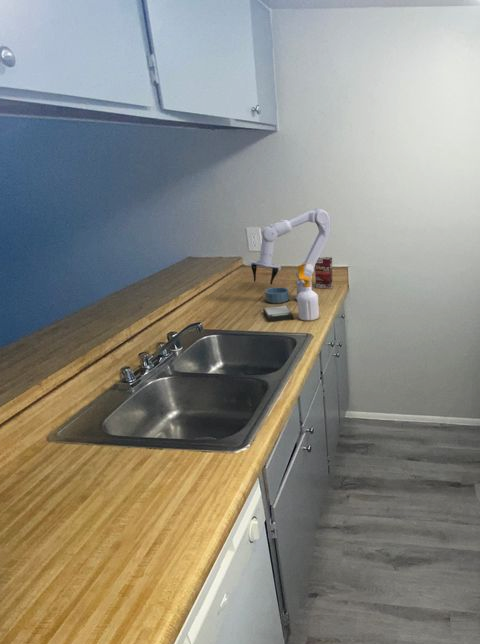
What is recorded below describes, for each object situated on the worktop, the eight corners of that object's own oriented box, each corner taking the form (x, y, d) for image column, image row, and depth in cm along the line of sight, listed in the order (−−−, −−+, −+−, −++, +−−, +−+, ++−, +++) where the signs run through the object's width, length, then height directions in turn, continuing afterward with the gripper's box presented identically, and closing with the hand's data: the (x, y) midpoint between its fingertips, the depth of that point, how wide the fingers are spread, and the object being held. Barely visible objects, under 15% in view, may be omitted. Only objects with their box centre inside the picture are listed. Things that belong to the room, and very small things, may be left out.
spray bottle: (311, 322, 207) (308, 265, 195) (294, 318, 211) (290, 263, 199) (322, 316, 214) (320, 261, 202) (306, 313, 218) (303, 259, 206)
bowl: (264, 298, 238) (263, 288, 236) (286, 296, 242) (285, 286, 239) (268, 304, 229) (267, 294, 226) (291, 302, 232) (290, 292, 230)
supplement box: (315, 288, 256) (314, 258, 248) (318, 285, 260) (316, 256, 252) (331, 288, 254) (330, 259, 247) (333, 286, 259) (332, 257, 251)
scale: (263, 313, 218) (263, 307, 216) (287, 310, 221) (286, 305, 220) (268, 322, 207) (268, 316, 206) (293, 319, 211) (292, 313, 209)
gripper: (250, 252, 214) (247, 281, 219) (282, 258, 218) (278, 287, 223) (250, 249, 220) (247, 278, 225) (281, 255, 224) (277, 283, 230)
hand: (262, 282), depth 225 cm, fingers open, 7 cm apart
